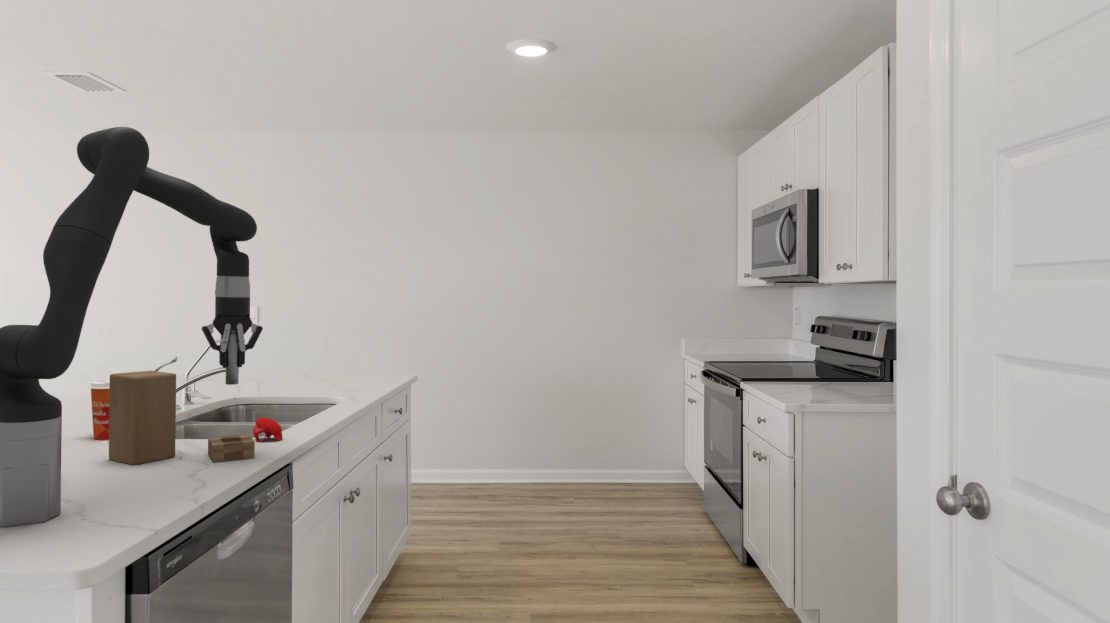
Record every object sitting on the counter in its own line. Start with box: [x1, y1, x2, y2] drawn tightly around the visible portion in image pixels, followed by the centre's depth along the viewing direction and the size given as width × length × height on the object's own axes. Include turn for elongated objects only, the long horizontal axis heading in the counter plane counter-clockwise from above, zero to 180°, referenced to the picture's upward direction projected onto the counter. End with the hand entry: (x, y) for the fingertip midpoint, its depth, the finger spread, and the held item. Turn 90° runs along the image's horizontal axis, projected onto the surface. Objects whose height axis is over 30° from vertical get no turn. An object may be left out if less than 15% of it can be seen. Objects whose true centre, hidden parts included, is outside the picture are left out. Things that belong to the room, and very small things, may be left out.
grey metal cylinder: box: [225, 326, 240, 386], centre depth 161 cm, size 3×3×14 cm
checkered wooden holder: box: [207, 434, 256, 463], centre depth 161 cm, size 9×9×4 cm
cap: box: [252, 417, 283, 442], centre depth 180 cm, size 8×6×6 cm
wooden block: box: [108, 370, 177, 466], centre depth 157 cm, size 10×10×20 cm
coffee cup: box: [88, 379, 110, 441], centre depth 177 cm, size 8×8×15 cm
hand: (232, 366), depth 161 cm, fingers closed on grey metal cylinder, 2 cm apart
